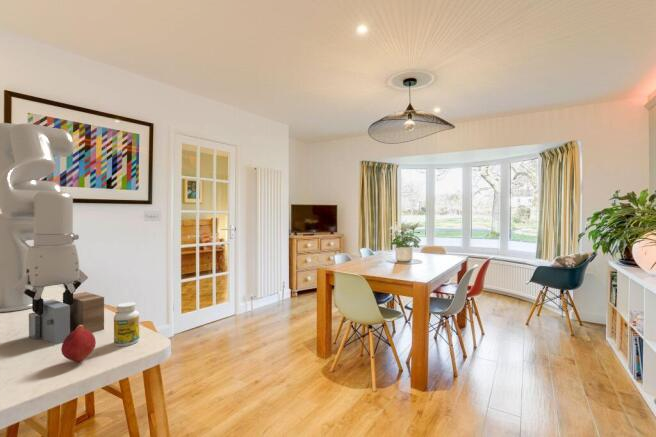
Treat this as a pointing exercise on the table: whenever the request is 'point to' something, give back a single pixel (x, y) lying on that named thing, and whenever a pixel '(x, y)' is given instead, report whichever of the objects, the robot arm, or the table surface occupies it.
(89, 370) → the table surface
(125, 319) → the supplement bottle
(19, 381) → the table surface
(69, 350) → the onion
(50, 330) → the pale blue tall prism
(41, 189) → the robot arm
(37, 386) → the table surface
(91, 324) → the brown tall rectangular block
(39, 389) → the table surface
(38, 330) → the gray wooden bench
